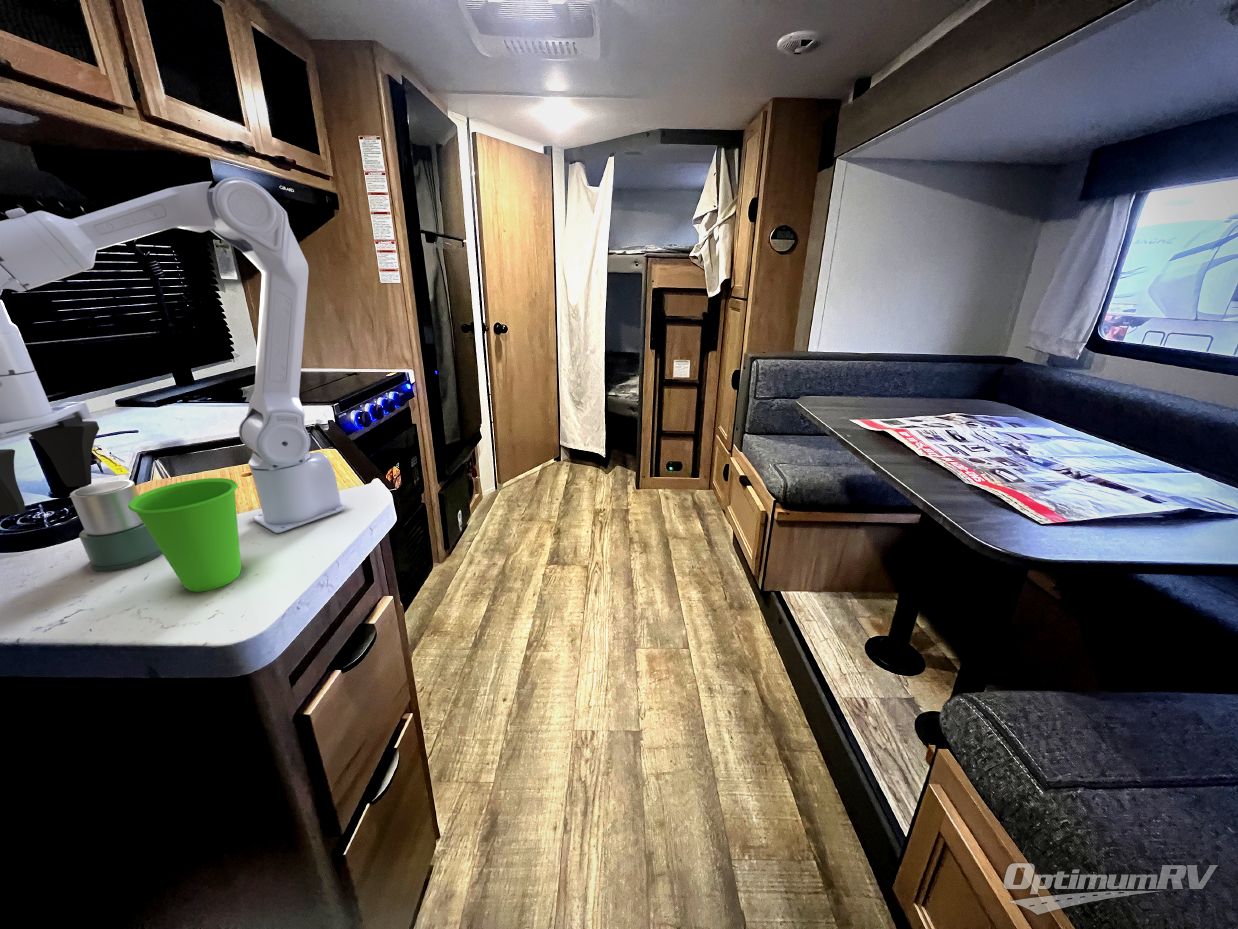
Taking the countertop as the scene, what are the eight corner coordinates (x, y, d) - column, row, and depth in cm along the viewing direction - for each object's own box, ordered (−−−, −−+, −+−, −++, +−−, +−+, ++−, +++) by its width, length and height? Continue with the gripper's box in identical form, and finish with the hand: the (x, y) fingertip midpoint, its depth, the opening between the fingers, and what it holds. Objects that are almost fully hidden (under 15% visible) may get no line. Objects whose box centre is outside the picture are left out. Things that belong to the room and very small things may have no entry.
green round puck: (157, 538, 65) (146, 508, 63) (175, 553, 61) (163, 521, 60) (83, 560, 59) (70, 528, 58) (98, 578, 56) (83, 544, 54)
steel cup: (140, 512, 62) (127, 476, 61) (153, 522, 59) (139, 485, 58) (81, 528, 58) (64, 489, 56) (92, 540, 55) (75, 500, 53)
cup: (207, 607, 50) (174, 514, 47) (139, 597, 52) (103, 506, 48) (280, 563, 59) (257, 481, 55) (219, 555, 60) (193, 475, 57)
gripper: (21, 364, 54) (68, 476, 58) (-157, 388, 40) (-77, 531, 45) (91, 363, 55) (132, 473, 59) (-59, 386, 41) (10, 527, 46)
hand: (47, 498), depth 52 cm, fingers open, 7 cm apart
